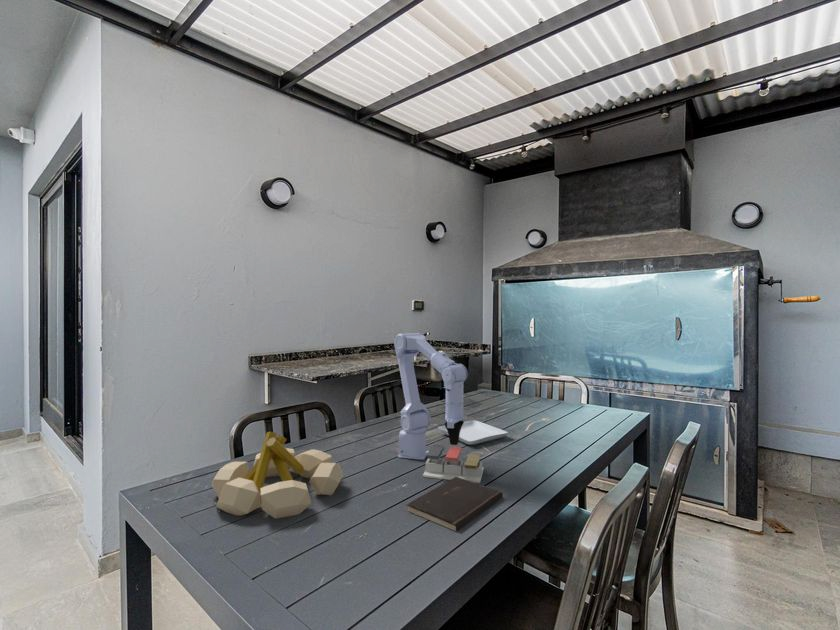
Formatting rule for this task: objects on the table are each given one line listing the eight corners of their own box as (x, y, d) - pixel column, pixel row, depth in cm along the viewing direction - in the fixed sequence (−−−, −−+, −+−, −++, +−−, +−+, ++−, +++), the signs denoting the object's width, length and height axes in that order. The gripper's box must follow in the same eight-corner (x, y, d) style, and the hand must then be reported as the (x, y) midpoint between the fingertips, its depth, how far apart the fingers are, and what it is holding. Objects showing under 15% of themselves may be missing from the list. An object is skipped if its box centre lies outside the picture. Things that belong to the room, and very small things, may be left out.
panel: (422, 476, 132) (422, 466, 132) (430, 463, 142) (430, 454, 142) (480, 483, 127) (480, 472, 127) (483, 469, 138) (483, 459, 138)
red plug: (445, 469, 130) (445, 457, 130) (451, 458, 140) (451, 446, 140) (456, 470, 129) (457, 458, 129) (461, 459, 139) (461, 447, 139)
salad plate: (509, 439, 170) (509, 431, 169) (469, 449, 158) (469, 440, 157) (474, 426, 187) (474, 419, 187) (436, 435, 175) (436, 426, 175)
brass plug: (464, 477, 129) (464, 464, 129) (468, 465, 139) (469, 453, 138) (476, 478, 128) (476, 465, 128) (479, 466, 138) (479, 454, 138)
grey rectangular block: (426, 467, 132) (426, 455, 132) (433, 456, 141) (433, 444, 141) (437, 468, 131) (438, 456, 131) (444, 457, 141) (444, 445, 140)
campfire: (281, 461, 145) (281, 412, 144) (362, 481, 129) (362, 426, 129) (184, 504, 114) (183, 442, 113) (275, 536, 98) (274, 465, 98)
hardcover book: (406, 512, 110) (406, 504, 110) (455, 484, 128) (456, 476, 128) (456, 534, 100) (456, 524, 100) (502, 500, 118) (502, 491, 118)
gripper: (463, 408, 126) (463, 453, 127) (469, 398, 140) (469, 438, 141) (440, 407, 128) (440, 450, 128) (449, 396, 142) (448, 436, 142)
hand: (454, 444), depth 135 cm, fingers closed
